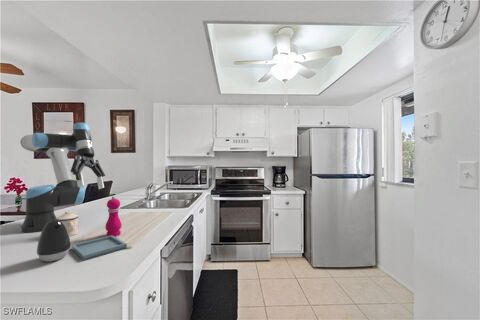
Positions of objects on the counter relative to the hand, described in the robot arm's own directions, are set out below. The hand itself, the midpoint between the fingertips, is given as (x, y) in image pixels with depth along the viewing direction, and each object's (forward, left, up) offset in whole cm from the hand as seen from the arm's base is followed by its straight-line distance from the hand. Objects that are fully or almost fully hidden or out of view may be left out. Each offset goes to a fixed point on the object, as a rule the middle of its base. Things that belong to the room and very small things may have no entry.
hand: (91, 187), depth 116 cm
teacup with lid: (-7, -8, -24) cm, 27 cm away
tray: (+24, -4, -24) cm, 34 cm away
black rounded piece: (+21, -19, -24) cm, 38 cm away
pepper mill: (+10, +7, -24) cm, 27 cm away
